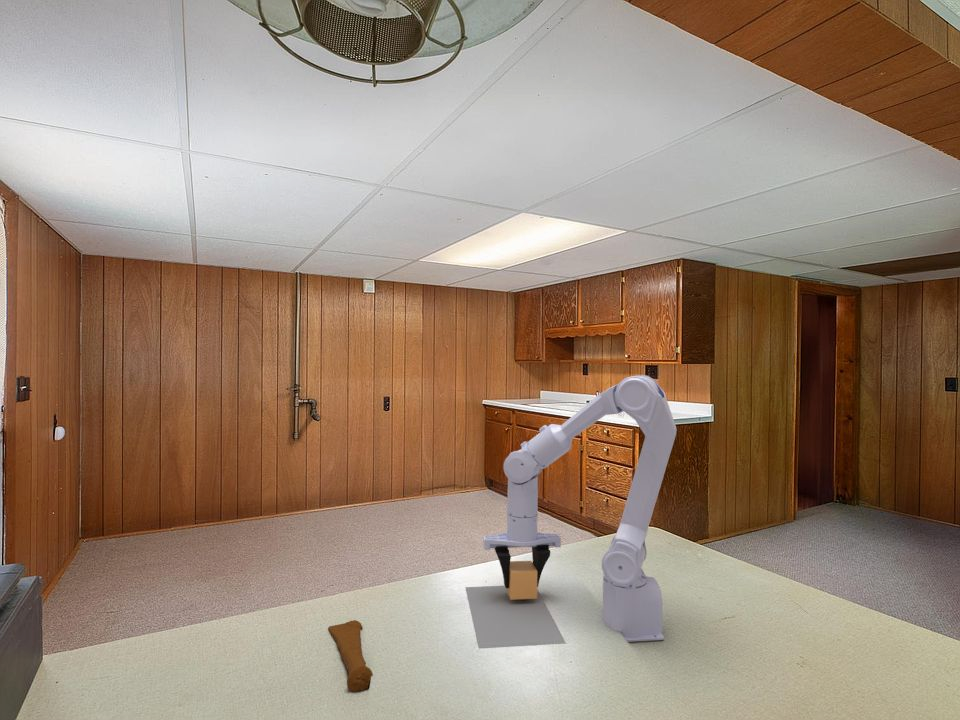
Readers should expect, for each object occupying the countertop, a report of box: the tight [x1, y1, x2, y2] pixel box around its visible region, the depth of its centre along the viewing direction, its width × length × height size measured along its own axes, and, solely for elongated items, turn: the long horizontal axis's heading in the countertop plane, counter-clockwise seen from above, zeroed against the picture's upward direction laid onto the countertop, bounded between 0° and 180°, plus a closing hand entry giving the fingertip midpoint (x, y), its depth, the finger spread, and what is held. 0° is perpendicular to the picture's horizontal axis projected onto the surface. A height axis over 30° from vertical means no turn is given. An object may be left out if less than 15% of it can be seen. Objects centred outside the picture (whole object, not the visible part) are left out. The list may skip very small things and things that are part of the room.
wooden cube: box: [506, 560, 538, 600], centre depth 95 cm, size 5×5×5 cm
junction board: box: [465, 585, 567, 649], centre depth 90 cm, size 14×21×4 cm, turn 7°
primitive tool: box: [327, 619, 374, 693], centre depth 79 cm, size 19×6×4 cm, turn 25°
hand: (521, 585), depth 95 cm, fingers closed on wooden cube, 5 cm apart
